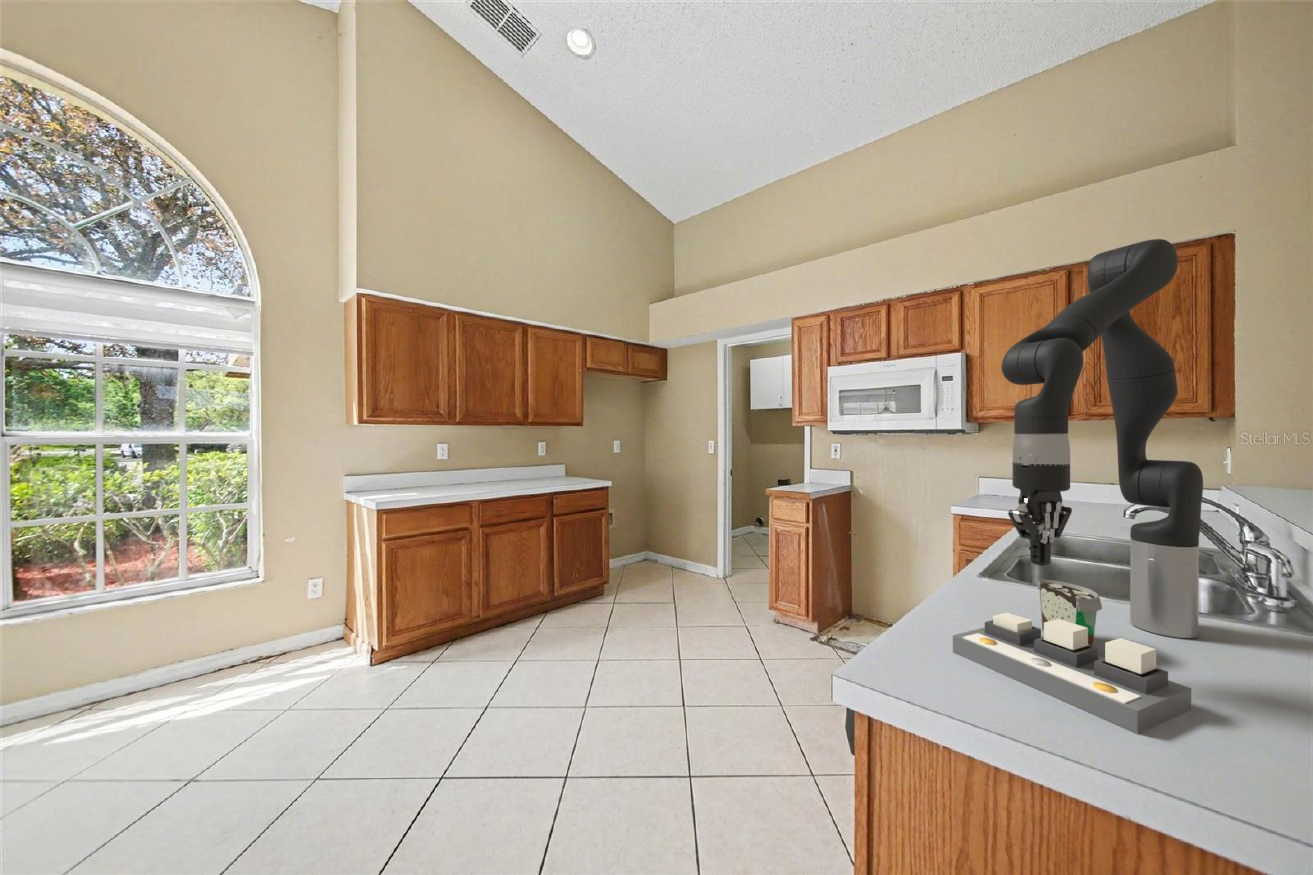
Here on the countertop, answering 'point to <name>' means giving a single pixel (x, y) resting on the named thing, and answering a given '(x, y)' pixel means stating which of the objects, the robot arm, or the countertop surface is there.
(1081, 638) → the button middle
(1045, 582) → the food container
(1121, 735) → the countertop surface
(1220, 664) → the countertop surface
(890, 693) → the countertop surface
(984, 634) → the button board
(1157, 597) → the robot arm
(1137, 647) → the button right
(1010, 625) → the button left
